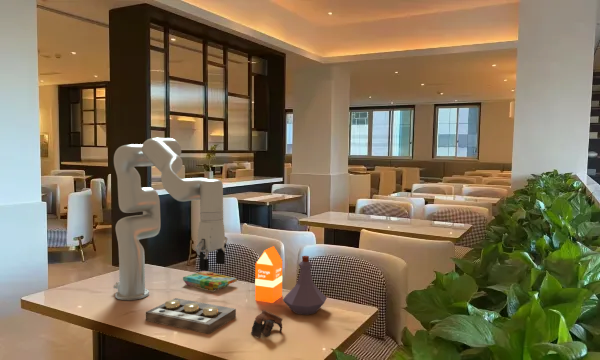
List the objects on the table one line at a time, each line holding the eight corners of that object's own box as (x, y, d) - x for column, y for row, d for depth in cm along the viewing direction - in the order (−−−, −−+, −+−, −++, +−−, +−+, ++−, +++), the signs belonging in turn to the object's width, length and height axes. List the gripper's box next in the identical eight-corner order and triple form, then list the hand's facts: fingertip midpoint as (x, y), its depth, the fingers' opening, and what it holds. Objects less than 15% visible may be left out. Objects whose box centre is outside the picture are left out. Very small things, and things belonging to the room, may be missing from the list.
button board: (145, 320, 160) (145, 311, 160) (175, 305, 175) (175, 297, 175) (209, 333, 150) (209, 323, 149) (235, 317, 164) (235, 307, 164)
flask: (299, 299, 184) (300, 249, 182) (335, 308, 174) (336, 255, 172) (273, 311, 170) (273, 257, 169) (310, 322, 161) (311, 264, 159)
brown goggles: (247, 330, 154) (258, 307, 156) (273, 342, 155) (283, 318, 157) (251, 336, 142) (263, 310, 145) (279, 348, 144) (290, 322, 146)
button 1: (162, 309, 164) (162, 303, 164) (171, 305, 169) (171, 299, 168) (173, 311, 162) (173, 305, 162) (182, 307, 167) (182, 301, 166)
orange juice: (254, 300, 182) (255, 249, 181) (265, 293, 190) (265, 245, 189) (273, 303, 179) (273, 251, 178) (282, 296, 187) (283, 246, 186)
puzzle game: (202, 269, 210) (236, 276, 199) (202, 279, 210) (236, 287, 199) (183, 275, 200) (217, 283, 189) (183, 285, 200) (217, 294, 189)
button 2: (200, 317, 158) (200, 310, 157) (208, 312, 162) (208, 306, 162) (212, 319, 156) (212, 313, 155) (220, 314, 160) (220, 308, 160)
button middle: (180, 313, 161) (180, 307, 161) (189, 308, 165) (189, 302, 165) (192, 315, 159) (192, 309, 159) (201, 310, 163) (201, 304, 163)
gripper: (216, 212, 166) (217, 260, 167) (186, 219, 150) (187, 272, 151) (235, 213, 163) (235, 262, 164) (206, 220, 147) (206, 274, 148)
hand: (212, 266), depth 158 cm, fingers open, 9 cm apart
